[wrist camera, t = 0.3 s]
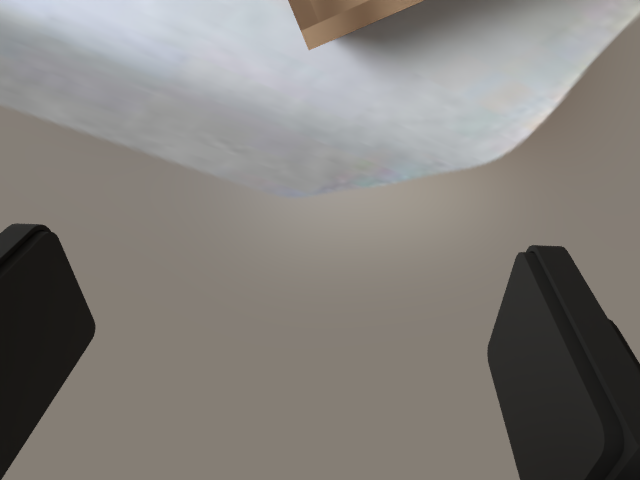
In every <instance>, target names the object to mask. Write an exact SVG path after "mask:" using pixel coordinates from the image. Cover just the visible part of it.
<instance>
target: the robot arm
mask: <svg viewBox="0 0 640 480" xmlns="http://www.w3.org/2000/svg"><path fill="white" fill-rule="evenodd" d="M94 333H95V322H94V319H93V317H92V315H91V312H90V310H89V308H88V306H87V303H86V301H85V298H84V296H83V294H82V291H81V289H80V287H79V285H78V282H77V280H76V278H75V275H74V273H73V271H72V269H71V266H70V264H69V261H68V259H67V257H66V254H65V252H64V250H63V248H62V245H61V243H60V241H59V238H58V237H57V235H56V234H55V233H53V232H51V231H50V229H49V228H47V227H46V226H44V225H39V224H12V225H10V226H9V227H7V228H6V229H5V230H4V231H3V232H1V233H0V480H1V479H2V478H3V476H4V475H5V473H6V471H7V470H8V468H9V467H10V465H11V464H12V462H13V461H14V459H15V458H16V456H17V454H18V453H19V451H20V450H21V448H22V447H23V445H24V444H25V442H26V441H27V439H28V437H29V436H30V434H31V433H32V431H33V430H34V428H35V427H36V425H37V423H38V422H39V421H40V419H41V417H42V416H43V414H44V413H45V411H46V410H47V408H48V407H49V405H50V404H51V402H52V400H53V399H54V397H55V396H56V394H57V393H58V391H59V389H60V388H61V387H62V385H63V383H64V382H65V380H66V379H67V377H68V376H69V374H70V373H71V371H72V370H73V368H74V367H75V365H76V363H77V362H78V360H79V359H80V357H81V356H82V354H83V353H84V351H85V350H86V348H87V346H88V345H89V343H90V342H91V340H92V338H93V337H94ZM488 363H489V367H490V370H491V374H492V378H493V381H494V385H495V389H496V392H497V396H498V400H499V403H500V407H501V411H502V415H503V418H504V422H505V426H506V429H507V433H508V437H509V440H510V444H511V447H512V451H513V455H514V459H515V462H516V466H517V470H518V473H519V477H520V480H640V364H639V362H638V360H637V359H636V357H635V355H634V354H633V352H632V350H631V349H630V347H629V346H628V344H627V342H626V341H625V339H624V337H623V336H622V334H621V332H620V331H619V329H618V328H617V326H616V325H615V324H614V323H613V321H611V320H609V319H608V318H607V316H606V315H605V313H604V311H603V310H602V308H601V307H600V305H599V303H598V301H597V300H596V298H595V296H594V295H593V293H592V292H591V290H590V288H589V286H588V285H587V283H586V282H585V280H584V278H583V276H582V275H581V273H580V271H579V270H578V268H577V266H576V265H575V263H574V261H573V260H572V258H571V256H570V255H569V253H568V251H567V250H566V249H565V248H564V247H561V246H538V245H532V246H530V247H529V248H528V249H527V251H526V252H520V253H518V255H517V257H516V259H515V262H514V265H513V268H512V272H511V275H510V278H509V282H508V284H507V288H506V291H505V294H504V297H503V301H502V304H501V307H500V310H499V313H498V316H497V319H496V323H495V325H494V329H493V332H492V335H491V338H490V341H489V345H488Z"/></svg>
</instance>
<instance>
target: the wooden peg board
mask: <svg viewBox="0 0 640 480" xmlns="http://www.w3.org/2000/svg"><path fill="white" fill-rule="evenodd" d="M288 1H289V3H290V6H291V8H292V11H293V13H294V15H295V18H296V20H297V23H298V25H299V28H300V30H301V32H302V35H303V37H304V40H305V42H306V45H307V47H308V49H309V50H311V49H313V48H316V47H318V46H320V45H322V44H325V43H327V42H329V41H332V40H334V39H336V38H339V37H341V36H343V35H346V34H348V33H350V32H352V31H355V30H357V29H359V28H362V27H364V26H366V25H369V24H371V23H373V22H376V21H378V20H380V19H382V18H385V17H387V16H389V15H392V14H394V13H396V12H399V11H401V10H403V9H406V8H408V7H410V6H412V5H415V4H417V3H419V2H422V1H424V0H288Z"/></svg>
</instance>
